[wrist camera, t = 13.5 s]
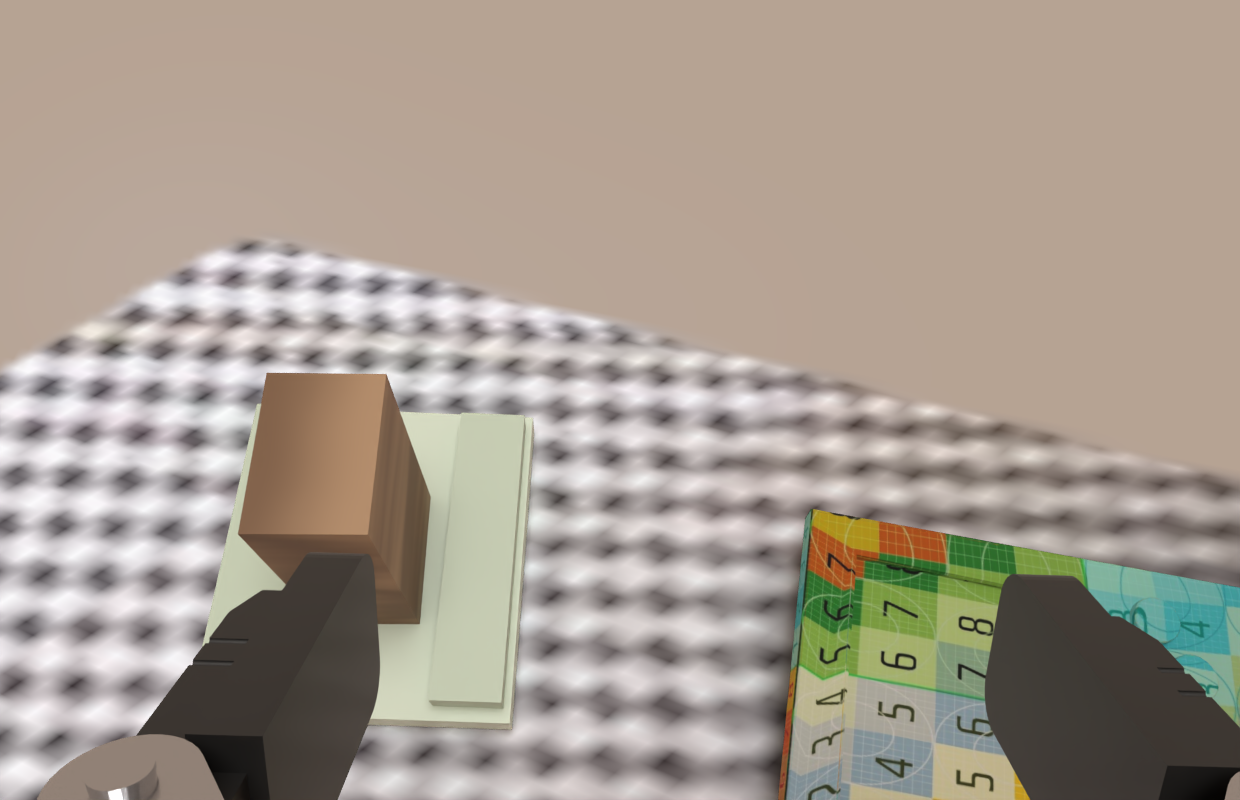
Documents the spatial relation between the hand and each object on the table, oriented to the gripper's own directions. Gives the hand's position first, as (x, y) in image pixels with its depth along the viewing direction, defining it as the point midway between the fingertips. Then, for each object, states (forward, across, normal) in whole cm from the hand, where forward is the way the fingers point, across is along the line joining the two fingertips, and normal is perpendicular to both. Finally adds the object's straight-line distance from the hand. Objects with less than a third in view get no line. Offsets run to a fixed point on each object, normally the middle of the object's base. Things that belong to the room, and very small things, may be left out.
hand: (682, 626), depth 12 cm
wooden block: (+21, +10, +11) cm, 26 cm away
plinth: (+23, +10, +12) cm, 27 cm away
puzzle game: (+20, -15, +17) cm, 30 cm away
